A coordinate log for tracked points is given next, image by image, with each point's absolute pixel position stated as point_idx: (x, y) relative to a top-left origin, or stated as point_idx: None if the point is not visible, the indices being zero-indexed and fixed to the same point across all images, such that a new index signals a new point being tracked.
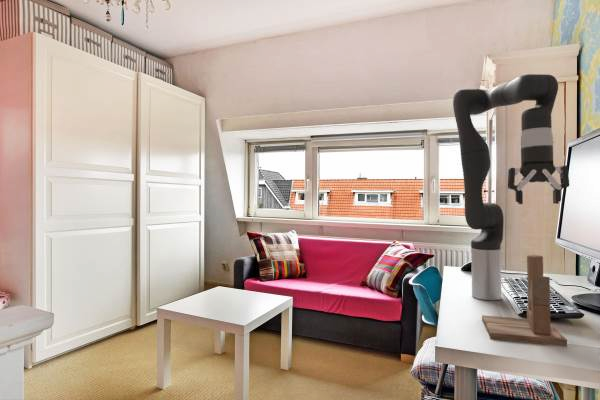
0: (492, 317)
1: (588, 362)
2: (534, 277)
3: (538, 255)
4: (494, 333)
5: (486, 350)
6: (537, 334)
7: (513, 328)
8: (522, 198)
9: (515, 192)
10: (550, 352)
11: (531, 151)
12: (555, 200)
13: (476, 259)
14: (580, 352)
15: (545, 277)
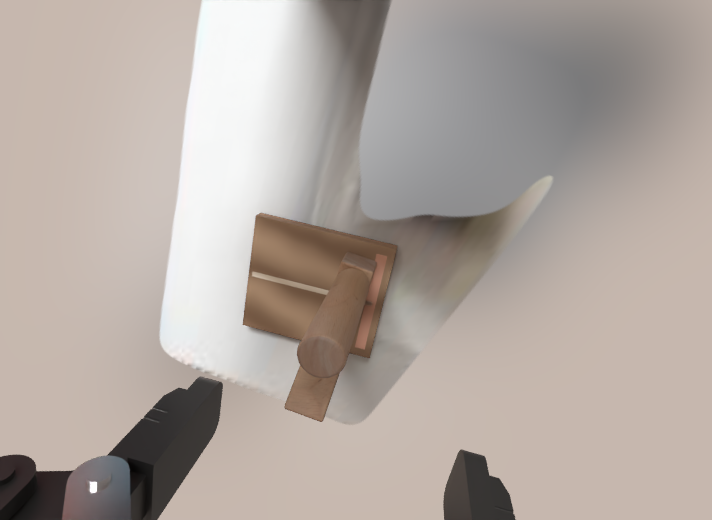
0: (275, 231)
1: (365, 408)
2: (289, 408)
3: (333, 359)
4: (250, 325)
5: (226, 367)
6: None
7: (295, 302)
8: (191, 465)
9: (110, 454)
10: None
11: None
12: (446, 513)
13: None
14: (377, 375)
15: (313, 418)
